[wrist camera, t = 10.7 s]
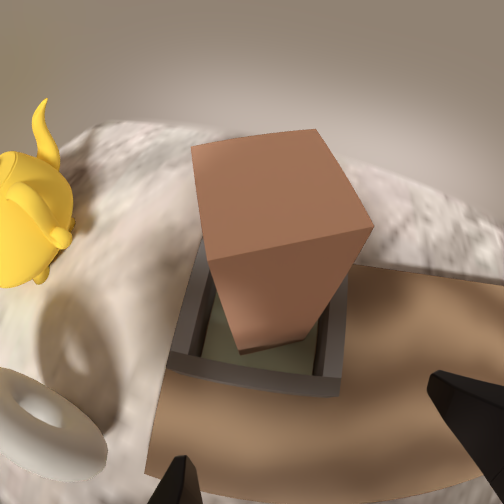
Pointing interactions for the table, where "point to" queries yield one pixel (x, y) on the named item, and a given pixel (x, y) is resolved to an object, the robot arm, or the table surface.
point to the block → (276, 232)
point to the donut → (47, 431)
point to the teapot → (33, 209)
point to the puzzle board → (328, 392)
